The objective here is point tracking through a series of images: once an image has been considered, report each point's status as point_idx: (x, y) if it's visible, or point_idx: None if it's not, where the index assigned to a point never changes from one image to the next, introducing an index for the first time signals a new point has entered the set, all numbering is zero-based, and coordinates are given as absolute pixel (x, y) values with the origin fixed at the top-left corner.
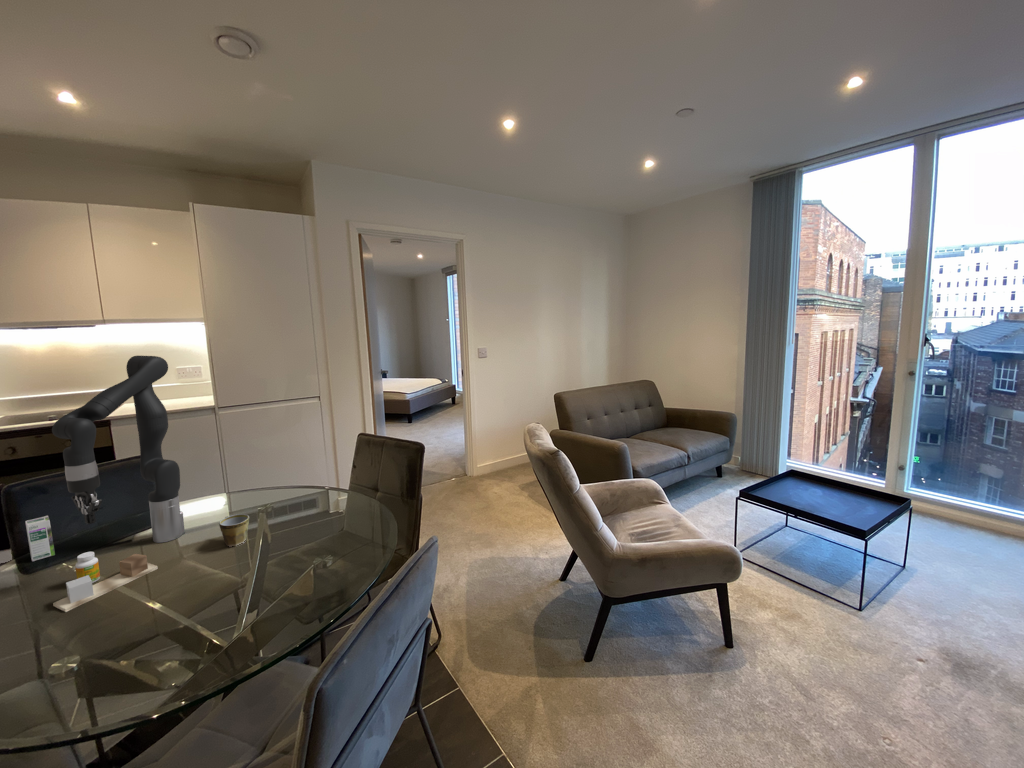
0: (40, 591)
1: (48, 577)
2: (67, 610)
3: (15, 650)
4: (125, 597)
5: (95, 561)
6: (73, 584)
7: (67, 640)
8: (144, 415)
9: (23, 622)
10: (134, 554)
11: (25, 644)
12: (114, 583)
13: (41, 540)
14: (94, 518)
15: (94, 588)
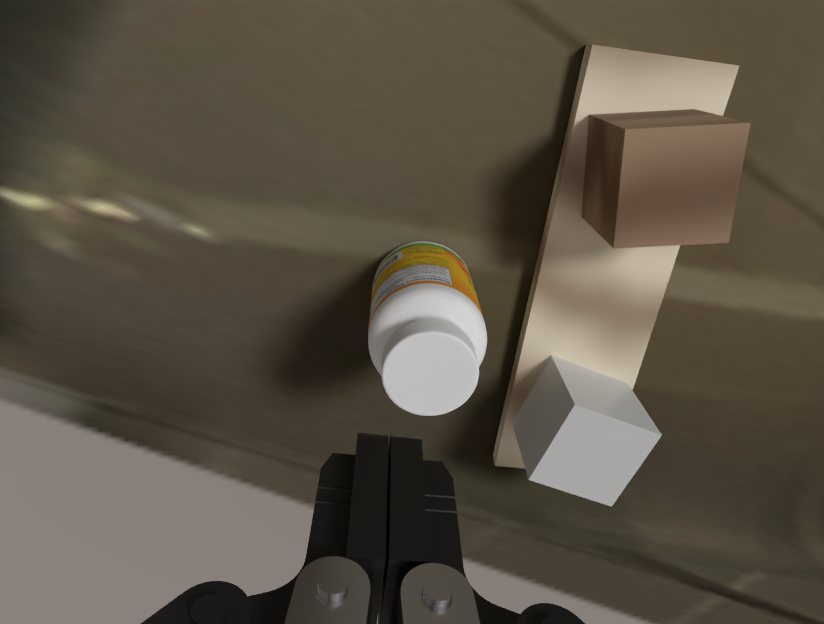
0: (282, 406)
1: (145, 321)
2: None
3: (652, 611)
4: (784, 331)
5: (483, 325)
6: (591, 478)
7: (790, 550)
8: None
9: (497, 537)
10: (631, 138)
11: (653, 591)
12: (634, 288)
13: None
14: (452, 506)
15: (567, 346)
